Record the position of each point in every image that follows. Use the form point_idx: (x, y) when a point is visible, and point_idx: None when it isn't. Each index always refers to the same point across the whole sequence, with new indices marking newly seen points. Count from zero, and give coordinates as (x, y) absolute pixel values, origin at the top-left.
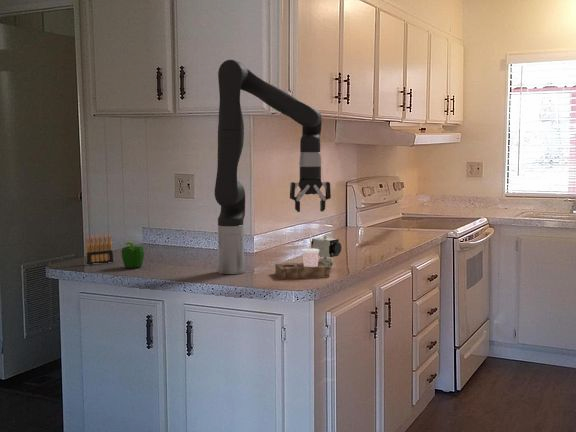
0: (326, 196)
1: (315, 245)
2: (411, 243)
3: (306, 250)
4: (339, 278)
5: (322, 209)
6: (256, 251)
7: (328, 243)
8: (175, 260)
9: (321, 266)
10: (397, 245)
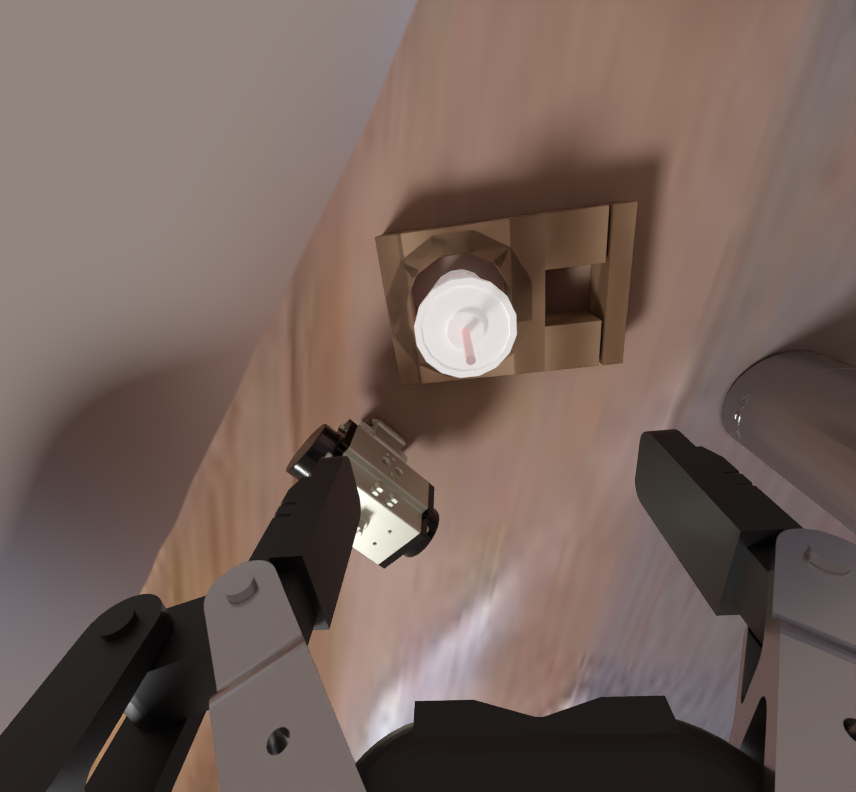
0: (170, 656)
1: (414, 494)
2: (111, 735)
3: (492, 314)
4: (338, 183)
5: (331, 466)
6: (563, 706)
7: None
8: None
9: (414, 253)
10: None
